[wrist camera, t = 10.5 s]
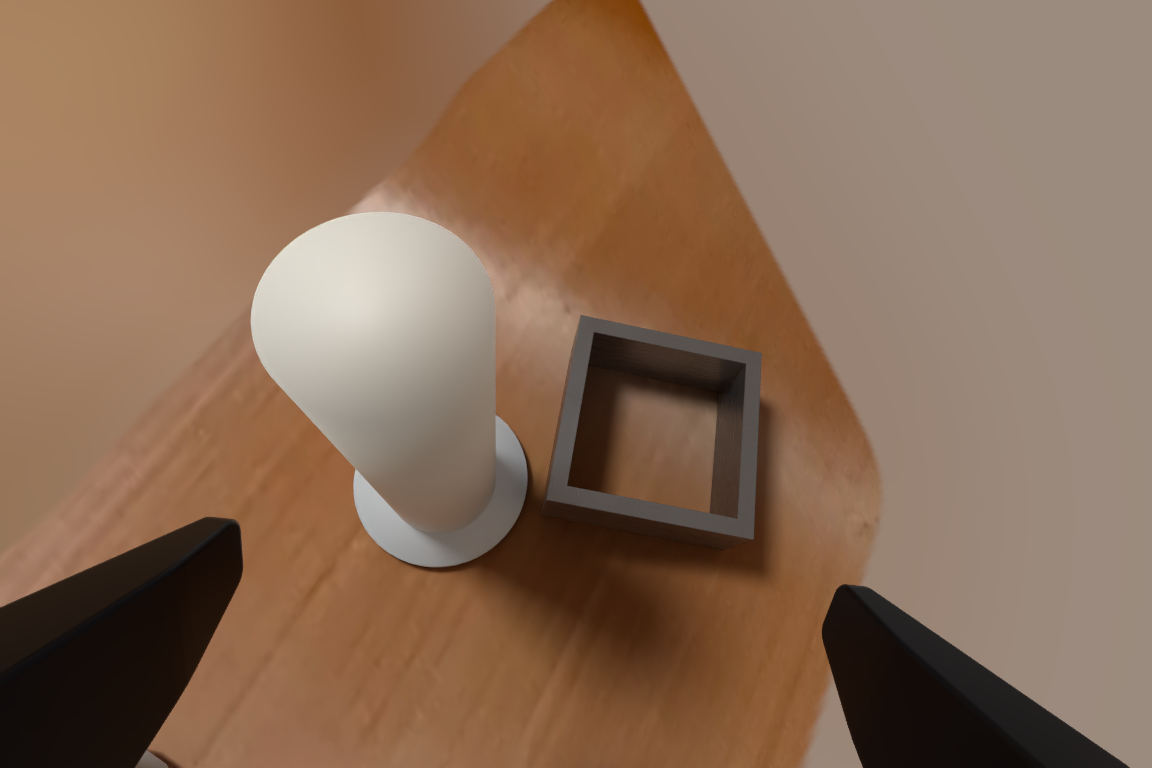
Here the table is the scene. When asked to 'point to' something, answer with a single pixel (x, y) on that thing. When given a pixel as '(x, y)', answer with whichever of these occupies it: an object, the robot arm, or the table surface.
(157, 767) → the rook chess piece
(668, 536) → the frame
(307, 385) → the cream peg
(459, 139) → the table surface
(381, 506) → the white oval disc
